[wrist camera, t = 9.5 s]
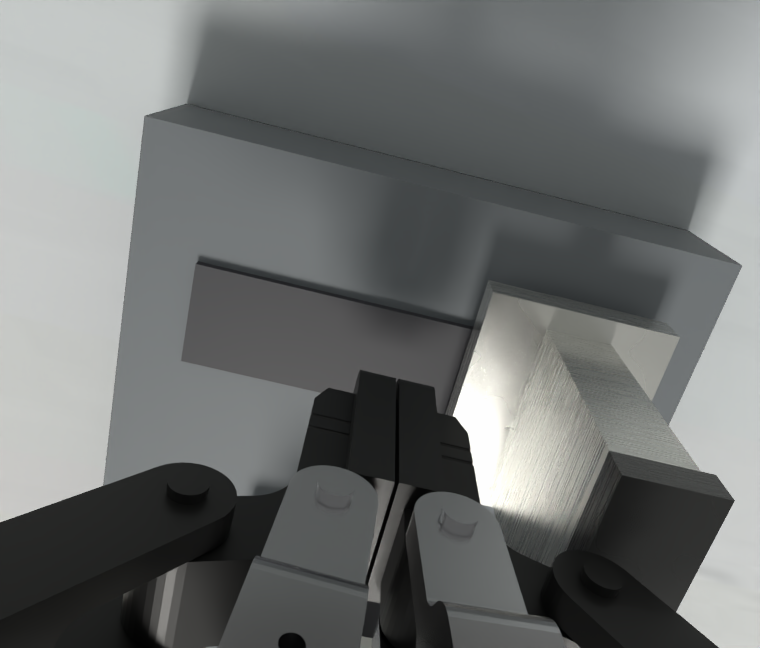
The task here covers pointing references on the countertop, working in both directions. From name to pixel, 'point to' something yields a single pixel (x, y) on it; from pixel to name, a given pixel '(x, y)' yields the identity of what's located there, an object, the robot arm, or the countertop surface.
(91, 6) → the countertop surface
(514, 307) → the slide paddle
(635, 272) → the control panel
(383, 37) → the countertop surface
